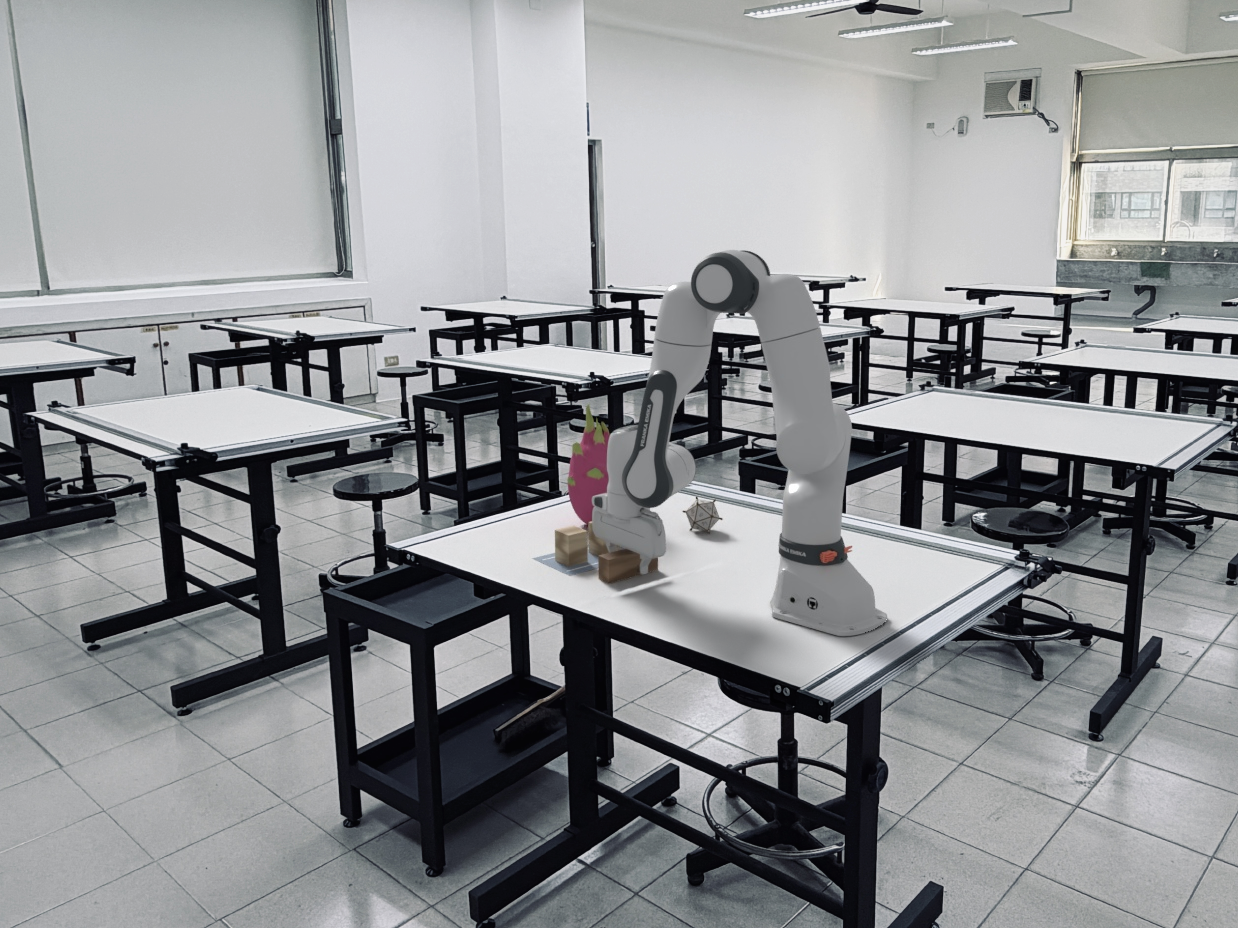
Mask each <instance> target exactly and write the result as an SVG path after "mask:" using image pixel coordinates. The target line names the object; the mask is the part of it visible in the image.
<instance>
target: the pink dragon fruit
mask: <svg viewBox="0 0 1238 928" xmlns="http://www.w3.org/2000/svg"><path fill="white" fill-rule="evenodd" d="M598 421H599V420H598V418H596V421H594V418H593V415H592V411H591V408H590V403H589V404H587V405H586V408H585V426H584V430H583V434H582V438H581V441H580V442H577V441H575V442H574V443H573V444H572V449H571V453H572V454H571V458H570V460H569V469H568V477H567V491H568V498H569V501H570V504H571V506H572V509H573V511H574V513H575V514H576V516H577V518H579V520H580V521H582V522H583V523H584V524H585V525H587V526H588V522H591V521H592V511H593V508H594V507H595V506H593V505H592V497H593V496H595V495H599V494H603V493H606V492H607V486H608V482H609V475H608V472H607V449H608V441H609V437H610V431H609V429H608V427H607V426H606V424H605V422H604V421H601V423H599V422H598ZM595 426H596V427H595Z"/></svg>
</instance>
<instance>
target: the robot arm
mask: <svg viewBox="0 0 1238 928" xmlns="http://www.w3.org/2000/svg"><path fill="white" fill-rule="evenodd" d="M813 302H814V301H813V300H812V298H811V295H810V293H809V290H808V288H807V287H806V285H805V283H804V281H803V279H801V278H800V277H798V275H794V274H789V273H779V274H774V275H771V271H770V267H769V266H768V264H767V262H766V261H765V260H764V259H763V257H761V256H760V255H759V254H757V253H755V252H753V251H749V250H738V249H728V250H727V249H726V250H722V251H718V252H714V253H711V254H709V255H706V256H705V257H704V258H703V259H701V260H700V261H699V262H698V263H697V265H696V266H695V267H694V270H693V272H692V274H691V280H690V281H680V282H676V283H674V284H671V285H670V286H668V288H667V289H666V290H665V291H664V293H663V296H662V299H661V303H660V306H659V310H658V315H657V317H656V318H657V319H656V325H655V330H654V338H653V348H652V352H651V353H652V354H651V362H650V368H649V373H648V376H647V381H646V385H645V389H644V393H643V398H642V404H641V408H640V414H639V418H638V424H633V425H632V424H630V425H627V426H623V427H619V428H617V429H615V430H613V431H612V432H611V433H609V435H610V437H609V441H608V449H607V472H608V475H609V482H608V486H607V492H606V493H603V494H599V495H595V496H593V497H592V505H593V506H595V507H594V508H593V511H592V528H593V532H594V534H595V536H596V537H598V538H600V539H603V540H605V541H606V546H607V549H608V551H609V553H611V552H615V551H618V550H617V546H616V545H618V546H620V547H623V548H625V549H628V550H631V551H633V552H636V553H638V554H640V559H642V560H641V563H640V564H639V565H637V572H638V573H640V574H642V575H646V574H649V573H648V565H649V563H650V561H651V559H654V558H658V559H659V558H661V557H664V556H665V554H667V553H666V552H667V539H666V530H665V525H664V522H663V520H662V519H661V516H660V515H659V513H658V512H655V511H653V510H652V511H651V509H653V508H657V507H659V506H661V505H662V504H664V502H666V501H667V500H669V498H670V497H672V496H674V495H676V494H677V493H679V492H680V491H682V490H683V489H685V488H687V486H689V485H690V484H691V483H692V482H693V481H694V479H695V476H696V474H697V464H696V460H695V458H694V456H693V454H692V453H691V451H690V450H689V449H688V448H687V447H685V446H683V445H680V444H677V443H676V444H675V443H673V442H670V440H671V435H672V434H671V433H672V428H673V422H674V417H675V414H676V411H677V410H678V409H679V406H680V404H681V402H682V401H683V400H684V399H685V398H686V396H687V395H688V394H689V393H690V392H691V391H692V390H693V389H694V388H695V387H696V386H697V385H698V384H699V383H700V382H701V381H702V379H703V378H704V376H705V374H706V371H707V368H708V365H709V362H710V358H711V350H712V342H713V335H714V333H713V332H714V326H715V323H716V321H717V318H718V317H719V316H720V314H722V313H723V314H739V315H745V314H746V313H747V314H749V315H750V316H751V317H752V319H753V320H754V322H755V324H756V328H757V331H758V335H759V340H760V344H761V349H762V353H763V357H764V360H765V365H766V370H767V373H768V377H769V382H770V387H771V396H772V407H773V408H772V409H773V417H774V425H775V434H776V443H775V444H776V448H775V449H776V454H777V457H778V459H779V461H780V463H781V464H782V465H783V466H784V467H785V468H786V469H787V471H788V472H787V476H786V477H787V478H786V482H785V488H784V490H783V495H782V516H781V519H782V520H781V521H782V522H781V533H779V539H778V554H779V564H778V571H777V578H776V583H775V587H774V590H773V594H772V597H771V600H770V603H769V604H770V607H771V608H772V611H771V617H773V618H775V619H778V620H781V621H785V622H790V623H792V624H796V625H800V626H803V627H806V628H810V629H813V630H817V631H821V632H823V633H827V634H829V635H834V636H837V637H851V636H858V635H862V634H865V632H866V633H868V631H869V632H871V630H872V631H874V630H876V629H875V628H877V627H878V626H880V625H882V624H883V623H884V622H885V621H886V619H887V620H888V614H887V612H884V611H883V610H881V609H879V608H876V599H875V592H874V588H873V586H872V585H871V584H870V582H868V581H867V579H866V578H864V576H863V575H862V574H861V573H860V572H859V571H858V569H857V568H855V566H854V565H853V564H852V563H851V562H850V561H849V559H848V558H849V557H848V553H851V552H853V550H852V548H853V545H849V546H846V545H845V542H844V539H843V536H842V520H843V518H842V517H843V503H844V501H843V500H844V493H845V486H846V481H847V473H848V467H849V466H848V465H849V459H850V451H851V444H852V443H851V442H852V433H853V426H852V420H851V417H850V415H849V413H848V412H847V411H846V410H845V409H844V407H842V406H840V405H839V404H837V403H834V402H833V397H832V396H833V395H832V385H831V367H830V361H829V357H828V353H827V349H826V345H825V341H824V338H823V334H822V329H821V326H820V321H819V317H818V314H817V312H816V311H817V310H816V308H815V306H814V303H813ZM886 622H887V621H886ZM882 626H883V625H882ZM873 629H874V630H873ZM877 629H878V628H877Z"/></svg>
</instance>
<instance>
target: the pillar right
mask: <svg viewBox="0 0 1238 928" xmlns="http://www.w3.org/2000/svg"><path fill="white" fill-rule="evenodd" d="M587 526H588V527H587V528H588V530H587V538H588V544H589V553H591V554H594V555H596V556H599V555H603V554H607V553H609V551H608V549H607V546H606V541H605V540H603V539H600V538H598V537H596V536H595V534H594V532H593V528H592V521H591V522H588V525H587ZM616 546H617V550H618V551H619V550H620V547H621V546H618V545H616Z"/></svg>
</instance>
